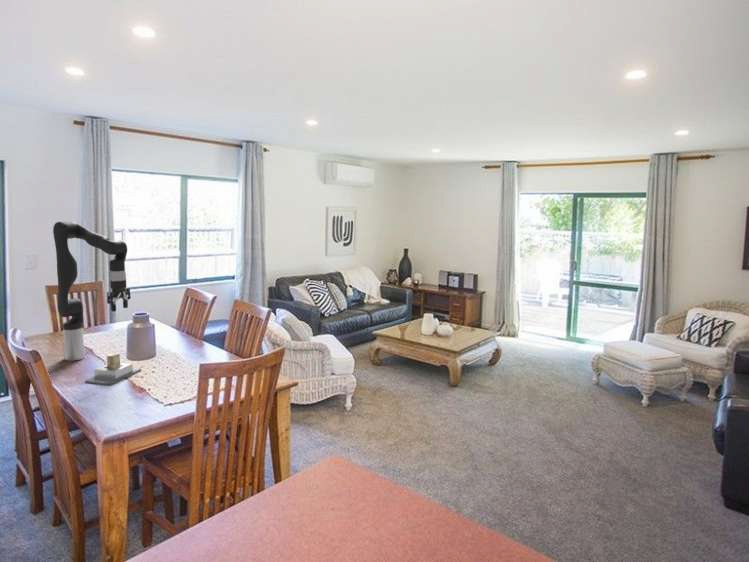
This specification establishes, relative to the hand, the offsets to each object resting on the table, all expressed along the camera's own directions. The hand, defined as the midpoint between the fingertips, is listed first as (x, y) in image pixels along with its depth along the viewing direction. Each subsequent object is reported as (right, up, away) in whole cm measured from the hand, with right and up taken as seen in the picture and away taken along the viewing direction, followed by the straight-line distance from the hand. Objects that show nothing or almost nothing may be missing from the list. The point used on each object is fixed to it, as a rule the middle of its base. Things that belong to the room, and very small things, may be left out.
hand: (119, 309), depth 260 cm
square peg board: (+4, -33, -12) cm, 35 cm away
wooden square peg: (+4, -32, -12) cm, 34 cm away
